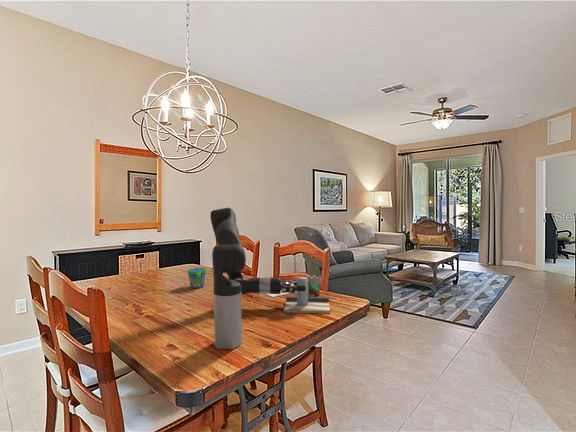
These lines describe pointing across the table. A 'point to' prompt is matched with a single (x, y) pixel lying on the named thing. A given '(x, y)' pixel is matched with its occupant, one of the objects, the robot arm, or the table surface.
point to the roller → (302, 295)
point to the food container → (314, 285)
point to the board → (313, 305)
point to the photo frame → (277, 294)
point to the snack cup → (197, 277)
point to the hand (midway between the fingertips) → (305, 286)
